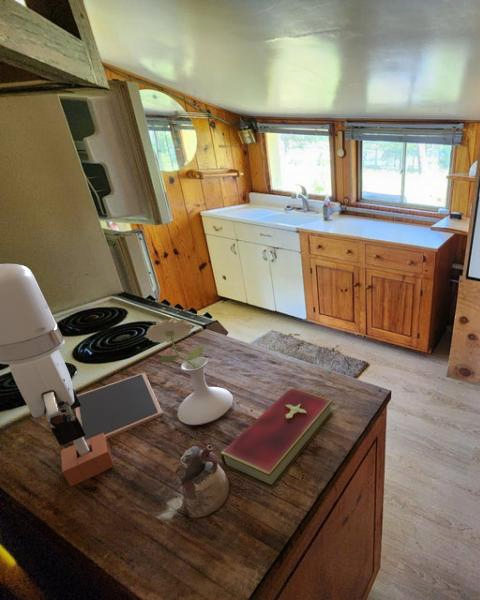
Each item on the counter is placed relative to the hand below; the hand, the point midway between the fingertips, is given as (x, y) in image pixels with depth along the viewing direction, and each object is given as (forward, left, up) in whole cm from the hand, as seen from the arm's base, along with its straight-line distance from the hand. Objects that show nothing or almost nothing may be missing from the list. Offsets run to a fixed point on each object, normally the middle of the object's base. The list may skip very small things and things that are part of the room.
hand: (71, 423), depth 58 cm
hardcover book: (+30, -18, -11) cm, 37 cm away
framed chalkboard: (+6, +16, -11) cm, 20 cm away
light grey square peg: (0, 0, -11) cm, 11 cm away
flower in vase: (+20, +1, -11) cm, 23 cm away
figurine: (+14, -22, -11) cm, 28 cm away
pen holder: (0, 0, -11) cm, 11 cm away
